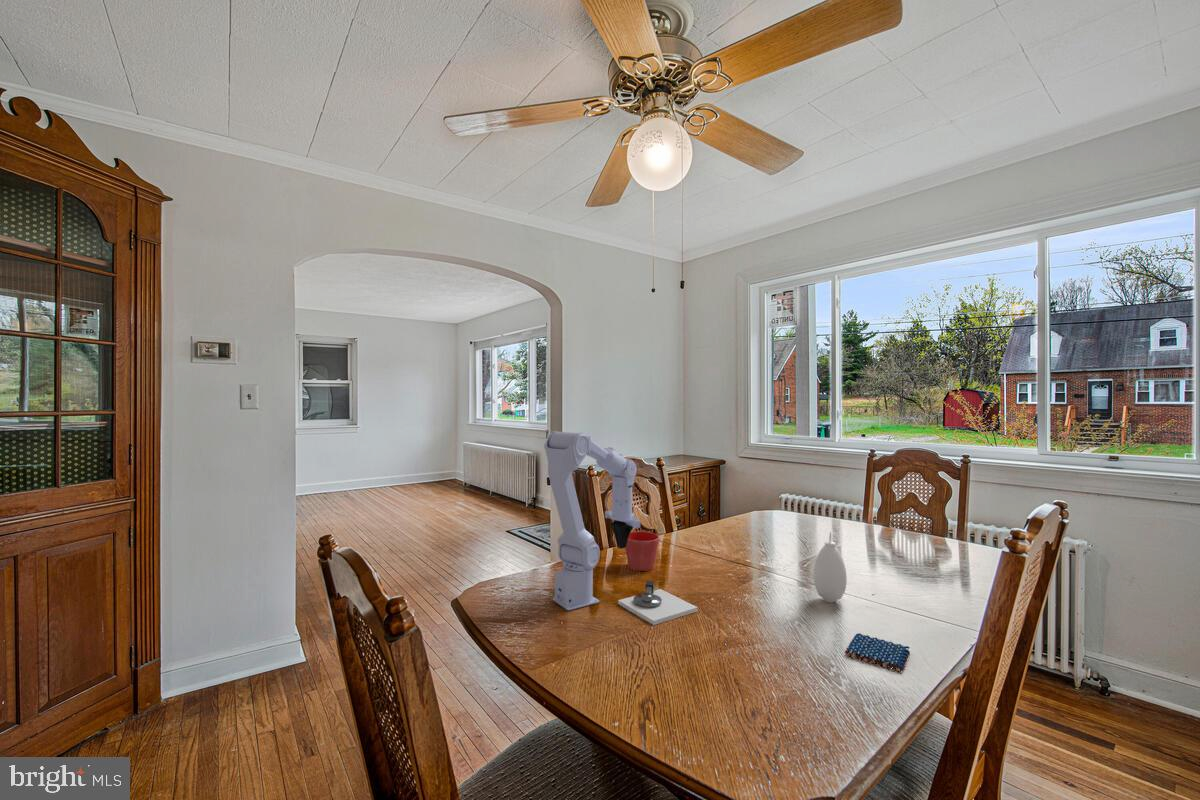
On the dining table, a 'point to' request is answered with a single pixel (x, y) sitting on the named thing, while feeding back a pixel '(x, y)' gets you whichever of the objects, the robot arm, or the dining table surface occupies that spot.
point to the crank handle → (648, 597)
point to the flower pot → (642, 550)
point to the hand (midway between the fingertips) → (621, 547)
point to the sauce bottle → (830, 573)
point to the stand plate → (660, 608)
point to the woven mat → (878, 651)
